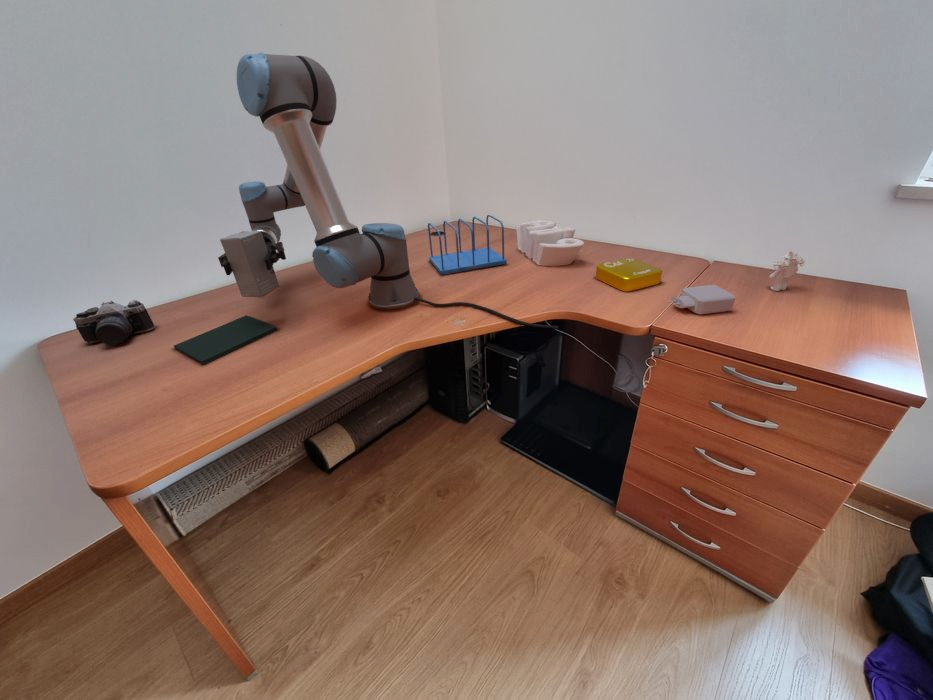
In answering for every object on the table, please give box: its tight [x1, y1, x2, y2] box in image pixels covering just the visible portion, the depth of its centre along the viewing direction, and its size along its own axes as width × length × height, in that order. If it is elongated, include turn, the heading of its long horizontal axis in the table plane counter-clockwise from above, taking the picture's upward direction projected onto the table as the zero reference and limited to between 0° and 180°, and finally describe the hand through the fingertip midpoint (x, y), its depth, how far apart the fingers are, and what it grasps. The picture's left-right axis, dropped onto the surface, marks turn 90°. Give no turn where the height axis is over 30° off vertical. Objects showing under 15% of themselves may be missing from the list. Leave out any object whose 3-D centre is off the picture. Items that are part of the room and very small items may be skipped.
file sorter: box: [427, 214, 508, 276], centre depth 145 cm, size 25×17×15 cm
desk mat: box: [173, 315, 278, 365], centre depth 106 cm, size 15×20×1 cm
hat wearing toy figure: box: [768, 250, 806, 292], centre depth 113 cm, size 9×4×12 cm, turn 104°
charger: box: [668, 284, 736, 315], centre depth 107 cm, size 5×9×15 cm
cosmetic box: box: [219, 230, 280, 299], centre depth 104 cm, size 8×7×16 cm
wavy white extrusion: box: [515, 219, 585, 267], centre depth 151 cm, size 35×16×11 cm, turn 12°
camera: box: [72, 299, 155, 346], centre depth 106 cm, size 16×10×10 cm, turn 117°
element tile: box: [595, 257, 663, 293], centre depth 126 cm, size 15×15×5 cm
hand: (247, 267), depth 100 cm, fingers closed on cosmetic box, 9 cm apart
